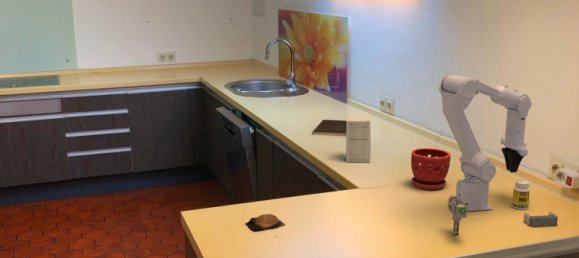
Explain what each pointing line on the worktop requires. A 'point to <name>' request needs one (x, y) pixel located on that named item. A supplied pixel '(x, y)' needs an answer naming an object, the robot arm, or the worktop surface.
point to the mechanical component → (457, 212)
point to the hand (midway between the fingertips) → (511, 171)
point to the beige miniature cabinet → (358, 139)
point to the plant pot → (430, 167)
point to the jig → (541, 220)
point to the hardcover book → (331, 128)
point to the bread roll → (264, 223)
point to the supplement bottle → (521, 194)
